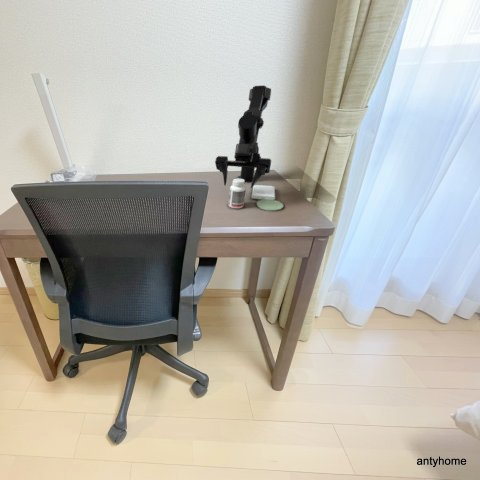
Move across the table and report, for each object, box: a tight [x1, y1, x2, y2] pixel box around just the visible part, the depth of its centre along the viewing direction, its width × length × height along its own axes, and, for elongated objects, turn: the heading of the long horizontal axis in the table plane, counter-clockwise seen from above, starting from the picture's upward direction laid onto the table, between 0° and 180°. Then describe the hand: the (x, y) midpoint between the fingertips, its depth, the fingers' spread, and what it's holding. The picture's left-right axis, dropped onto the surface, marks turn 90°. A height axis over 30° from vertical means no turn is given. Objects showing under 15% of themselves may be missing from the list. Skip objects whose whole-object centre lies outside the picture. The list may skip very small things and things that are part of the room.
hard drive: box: [251, 184, 276, 200], centre depth 101 cm, size 2×8×12 cm
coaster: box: [256, 199, 284, 212], centre depth 93 cm, size 9×9×1 cm
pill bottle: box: [228, 177, 247, 209], centre depth 92 cm, size 5×5×10 cm
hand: (237, 186), depth 90 cm, fingers open, 9 cm apart
